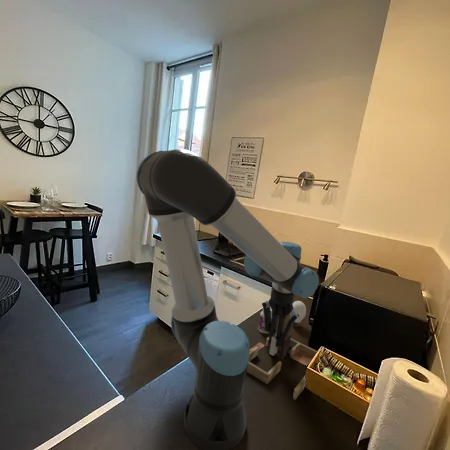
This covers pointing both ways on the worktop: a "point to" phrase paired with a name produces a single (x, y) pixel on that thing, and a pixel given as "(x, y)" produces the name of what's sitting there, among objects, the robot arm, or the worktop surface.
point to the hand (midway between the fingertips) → (273, 353)
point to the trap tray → (296, 353)
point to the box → (281, 346)
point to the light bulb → (299, 312)
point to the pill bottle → (263, 322)
